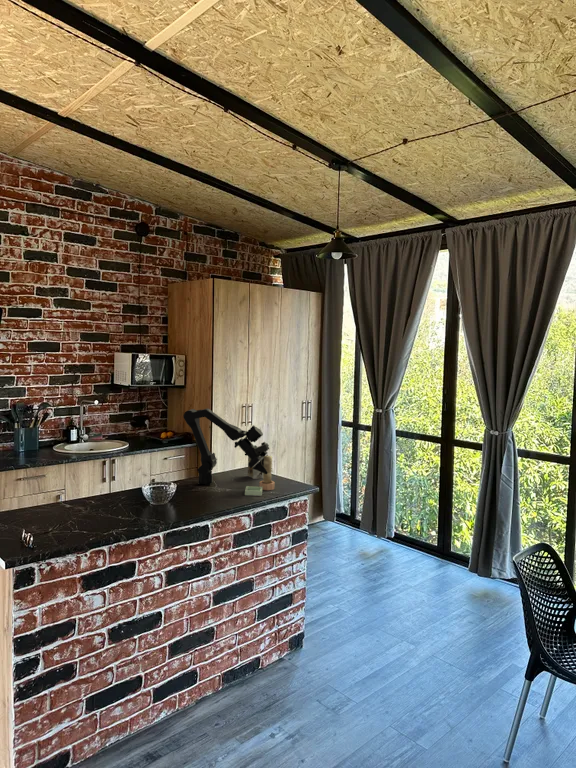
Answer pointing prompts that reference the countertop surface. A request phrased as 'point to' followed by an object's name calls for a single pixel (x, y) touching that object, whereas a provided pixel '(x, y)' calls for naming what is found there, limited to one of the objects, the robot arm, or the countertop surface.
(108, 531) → the countertop surface
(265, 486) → the holder
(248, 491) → the tray
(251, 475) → the coffee box
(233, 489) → the countertop surface
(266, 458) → the dowel
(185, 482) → the countertop surface
